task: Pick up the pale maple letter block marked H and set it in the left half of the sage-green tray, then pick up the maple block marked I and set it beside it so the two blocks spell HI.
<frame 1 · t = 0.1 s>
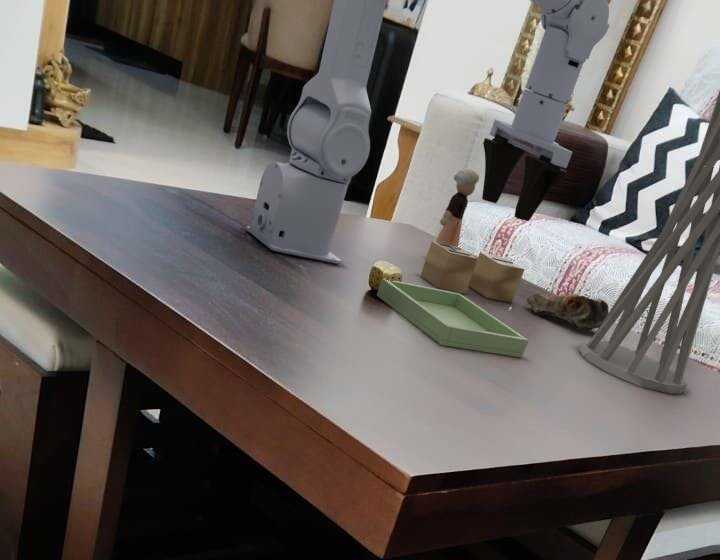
hand: (505, 210, 129), 10 cm above the table, tool pointing down, fingers open, 7 cm apart
tray: (448, 326, 110), on the table
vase: (630, 371, 121), on the table
letter i: (489, 294, 132), on the table
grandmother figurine: (439, 262, 141), on the table
rock: (563, 323, 132), on the table
letter h: (442, 284, 128), on the table
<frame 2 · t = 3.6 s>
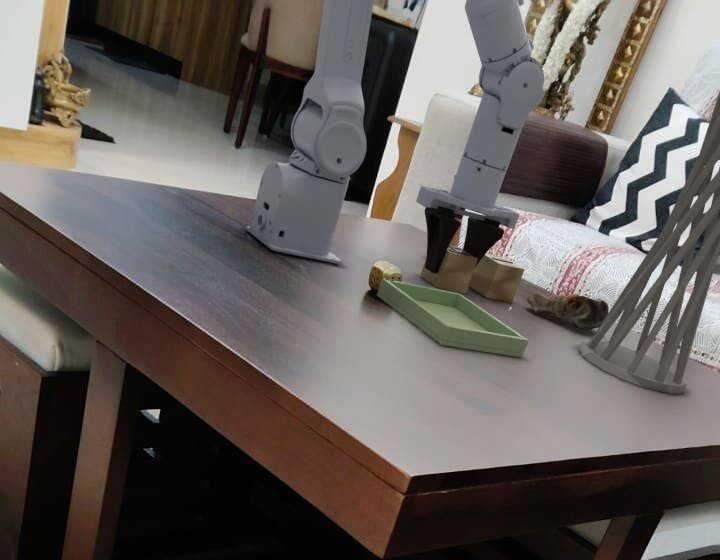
hand: (446, 274, 127), 1 cm above the table, tool pointing down, fingers closed on letter h, 4 cm apart
letter h: (442, 284, 128), on the table, touching gripper
everything else where it was.
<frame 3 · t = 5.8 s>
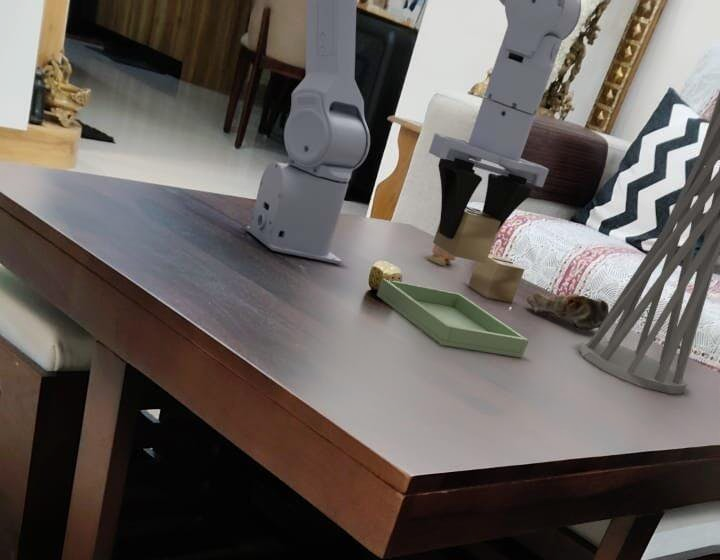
hand: (463, 240, 109), 8 cm above the table, tool pointing down, fingers closed on letter h, 4 cm apart
letter h: (459, 253, 110), point 7 cm above the table, touching gripper
everything else where it was.
when the fingers open (2 cm above the table, at t = 8.0 s): letter h stays where it is, resting on tray.
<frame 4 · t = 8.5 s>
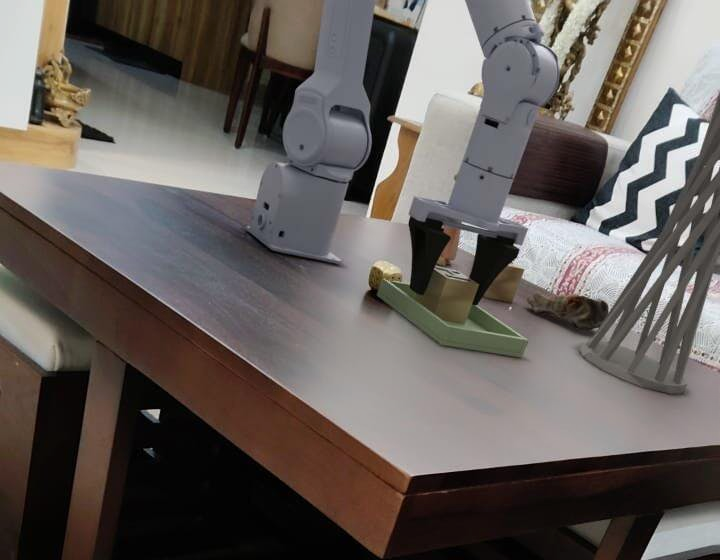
hand: (443, 297, 111), 2 cm above the table, tool pointing down, fingers open, 7 cm apart
letter h: (438, 313, 111), resting on tray
everything else where it was.
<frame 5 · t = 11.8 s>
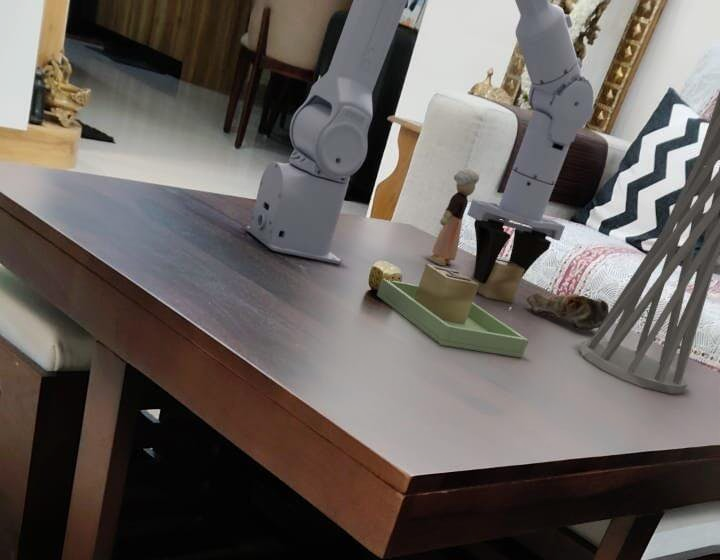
hand: (493, 283, 132), 1 cm above the table, tool pointing down, fingers closed on letter i, 4 cm apart
letter i: (489, 294, 132), on the table, touching gripper
everything else where it was.
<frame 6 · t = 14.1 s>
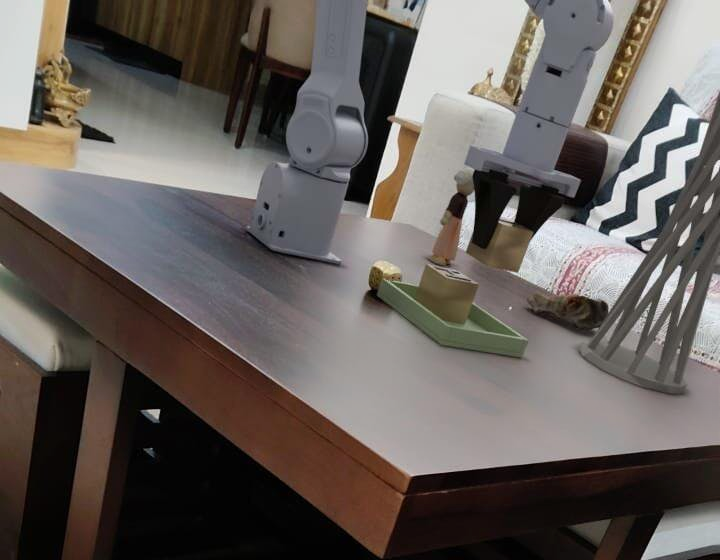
hand: (495, 249, 110), 8 cm above the table, tool pointing down, fingers closed on letter i, 4 cm apart
letter i: (491, 262, 111), point 7 cm above the table, touching gripper
everything else where it was.
when the fingers open (2 cm above the table, at t = 16.7 s): letter i stays where it is, resting on tray.
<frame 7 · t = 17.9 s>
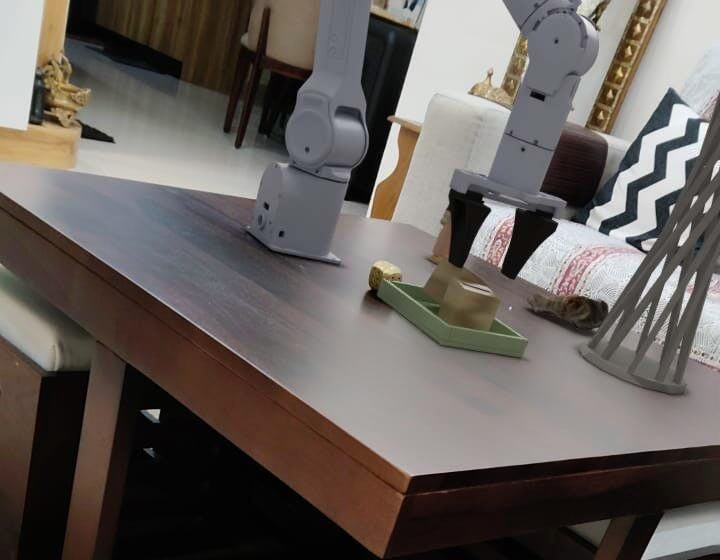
hand: (481, 270, 111), 6 cm above the table, tool pointing down, fingers open, 7 cm apart
letter i: (460, 327, 109), point 1 cm above the table, touching tray
letter h: (444, 306, 112), point 1 cm above the table, tilted 18°, touching gripper, tray
everything else where it was.
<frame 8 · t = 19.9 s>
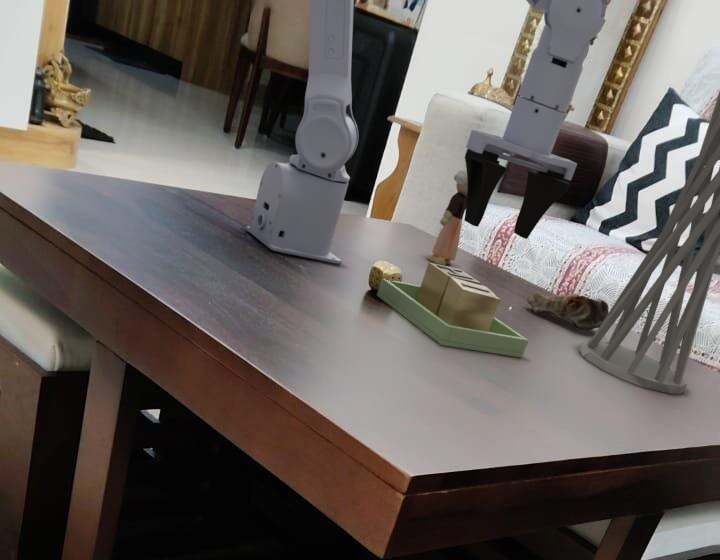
hand: (496, 229, 116), 9 cm above the table, tool pointing down, fingers open, 7 cm apart
letter h: (440, 311, 113), resting on tray
everything else where it was.
at the end: letter h 1.0 cm from the target spot in the tray, point 0.5 cm above the tray's base; letter i 1.6 cm from the target spot in the tray, point 0.5 cm above the tray's base; letter i tilted 0° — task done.
